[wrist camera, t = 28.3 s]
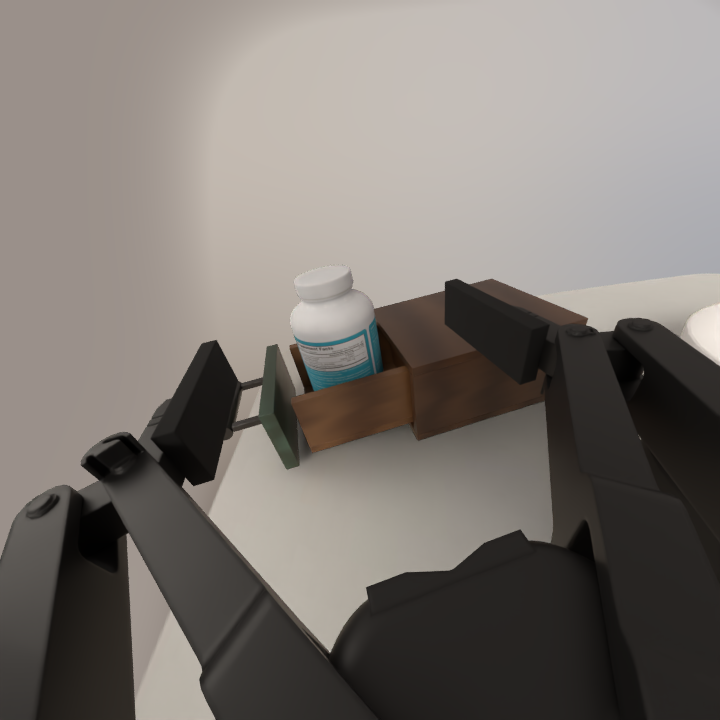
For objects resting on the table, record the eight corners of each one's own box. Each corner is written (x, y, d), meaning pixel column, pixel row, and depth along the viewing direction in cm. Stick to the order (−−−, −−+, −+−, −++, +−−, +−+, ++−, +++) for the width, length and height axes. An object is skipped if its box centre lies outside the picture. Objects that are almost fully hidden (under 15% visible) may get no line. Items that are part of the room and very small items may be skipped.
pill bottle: (346, 370, 33) (318, 259, 26) (399, 385, 29) (385, 258, 22) (305, 410, 29) (257, 288, 21) (362, 434, 25) (327, 294, 17)
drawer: (230, 487, 24) (190, 436, 20) (246, 403, 33) (221, 358, 29) (436, 423, 26) (435, 366, 22) (395, 361, 35) (390, 314, 31)
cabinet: (417, 441, 25) (412, 368, 21) (379, 369, 36) (369, 310, 31) (562, 395, 27) (588, 318, 22) (485, 339, 37) (491, 278, 33)
